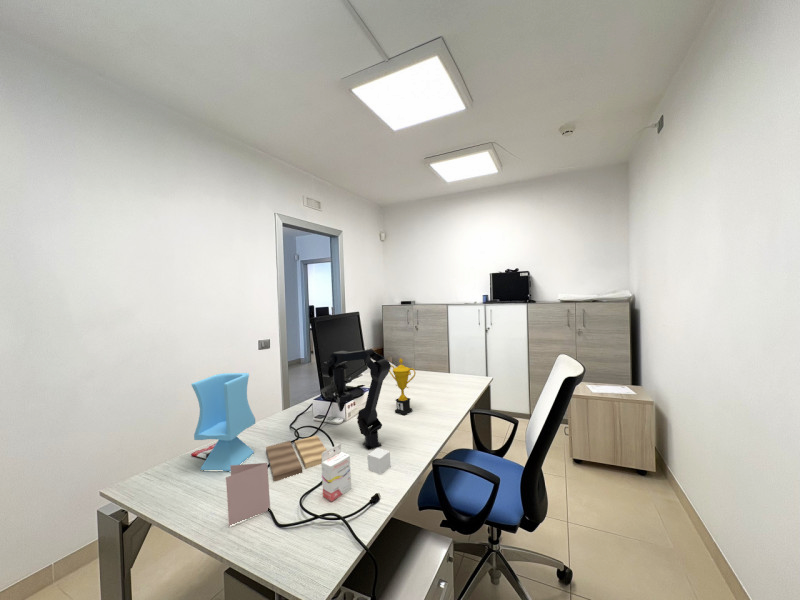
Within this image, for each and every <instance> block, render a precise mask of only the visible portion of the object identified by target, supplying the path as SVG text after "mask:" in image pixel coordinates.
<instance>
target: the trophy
mask: <svg viewBox="0 0 800 600" xmlns="http://www.w3.org/2000/svg"><path fill="white" fill-rule="evenodd" d="M398 362H399V365H398V366H396V367H394V365H392V364H391V368H392V371H391V369H390V370H389V374H390V376H392V378H393V379H394V380H395V382H396V384H395V386H396V387H398V389H399V390H401V391H400V392H401V394H400V396H399V397H398V398H395V400H394V401H396V408H395V409H394V413H395V414H398V415H400V416H401V415H402V416H407V415H409V414H410V413H412V412H413V409H412V408H411V401H410V400H411V398H409V397H407V395H405V389H409V388H410V387H409V386H408V384H409V383H410V382H411V381H412V380H413V379H414V378H415V376H416V370H415V368H413V367H411V368H410V367H407V366H405V365H404V364H403V363H404V359H403V358H401V357H400V358H399V359H398ZM411 371H413V373H414V374H413V376H411V374H412V372H411ZM409 376H411V378H409Z"/></svg>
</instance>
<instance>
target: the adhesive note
mask: <svg viewBox="0 0 800 600" xmlns="http://www.w3.org/2000/svg"><path fill="white" fill-rule="evenodd" d="M390 467H391V452H390V451H389V450H386V449H383V448H380V447H376V448H374V450H373V449H372V451H371V452H369V453H367V469H368V471H370V472H373V473H375V474H378V475H382V474H384V473H385V472H386V471H387V470H388V469H390Z"/></svg>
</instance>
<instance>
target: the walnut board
mask: <svg viewBox="0 0 800 600" xmlns="http://www.w3.org/2000/svg"><path fill="white" fill-rule="evenodd" d="M265 452H266V456H267V459H268V463H270V464H269V467H270V470H271V476H272V478H273V482H274V481H275V482H278V481H282V480H284V478H285V479H288V478H291V477H293V475H294V476H296V474H297V475H299V473H300V474H303V466H302V464H301V462H300V459H299V457H298V456H297V453H296V451H295V448H294V446H293V444H292V442H291V440H288V441H284V442H280V443H275V444H272V445H269V446H266V447H265ZM290 476H291V477H290ZM287 477H288V478H287Z"/></svg>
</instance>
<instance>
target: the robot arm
mask: <svg viewBox="0 0 800 600" xmlns="http://www.w3.org/2000/svg"><path fill="white" fill-rule="evenodd" d="M359 360H363V361H364V362H365V365H366V367H367V368H368V369H369V371H370V372H369V374H370V377H371V381H370V386H369V389H368V394H367V396H366V397H367V398H366V401H365V404H364V407H362V409H360V410H359V411H358V414H357V416H356V420H357V424H358V428H359V431H360V434H361V435H363V436H364V439H365V441H364V442H362V445H363V447H364V448H365V449H367V451H370V450H373V449H376V448H380V447H381V446H382V444H381V442H379V430H381V429H382V426H383V424H382V423H381V420H379V418H378V412H377V407H378V402H379V398H380V394H381V389H382V386H383V382H384V380H385V379H386V377H387V376H388V374H390V372H389V370H390V371H391V368H392V367H391V365H392V364H391V363H390V361H389V360H388V359H387V358H385V357H384V356H383V355H381V354H379V353H377V352H376V351H374V349H372V348H367V349H363V350H355V351H347V350H340V351H334V352H331V353H330V355H329V358H328V360H327V361H324V366H323V368H322V375H323V376H322V377H326V378H332V379H331V381H330V382H331V384H328V385H326V386H324V387H322V388H321V389H320V392H321V394H322V397H324V398H325V399H327V398H329V397H332V398H333V399H334V400H335V401H336V403H337V407H338V411H339V412H343V411H344V409H345V406H346V404H347V402H349V401H353V400H354V395H353V394H352V393H350V392H349V391H348V388H347V386H346V385H347V383H348V380H347V379H346V370H348V369H349V366H347V365H346V362H350V361H351V362H352V361H359ZM320 373H321V372H319V374H320Z"/></svg>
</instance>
